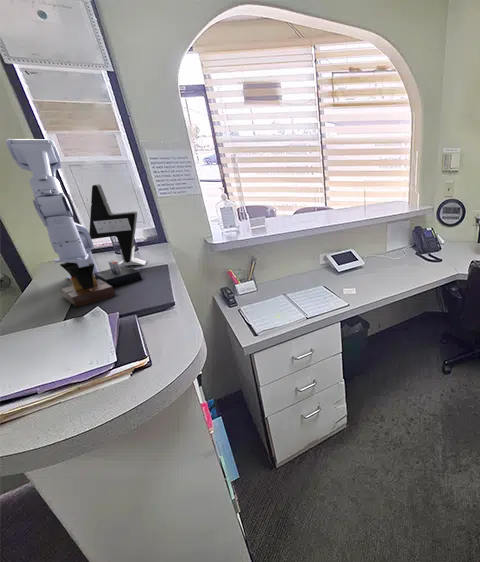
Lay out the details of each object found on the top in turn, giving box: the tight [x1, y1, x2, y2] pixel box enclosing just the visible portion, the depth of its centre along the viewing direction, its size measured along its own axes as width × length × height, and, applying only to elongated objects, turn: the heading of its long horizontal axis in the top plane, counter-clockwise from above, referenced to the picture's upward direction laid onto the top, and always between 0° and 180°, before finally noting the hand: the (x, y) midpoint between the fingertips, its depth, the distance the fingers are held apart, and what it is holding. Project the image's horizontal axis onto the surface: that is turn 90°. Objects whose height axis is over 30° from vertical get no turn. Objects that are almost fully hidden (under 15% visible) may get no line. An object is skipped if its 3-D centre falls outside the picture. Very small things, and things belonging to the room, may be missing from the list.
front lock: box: [69, 274, 98, 291], centre depth 89 cm, size 5×1×4 cm, turn 146°
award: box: [88, 183, 147, 267], centre depth 113 cm, size 15×5×30 cm, turn 117°
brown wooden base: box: [60, 279, 117, 308], centre depth 91 cm, size 12×9×3 cm
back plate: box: [94, 265, 143, 288], centre depth 103 cm, size 12×9×3 cm
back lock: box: [108, 260, 121, 274], centre depth 102 cm, size 5×1×4 cm, turn 55°
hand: (86, 286), depth 90 cm, fingers open, 5 cm apart
